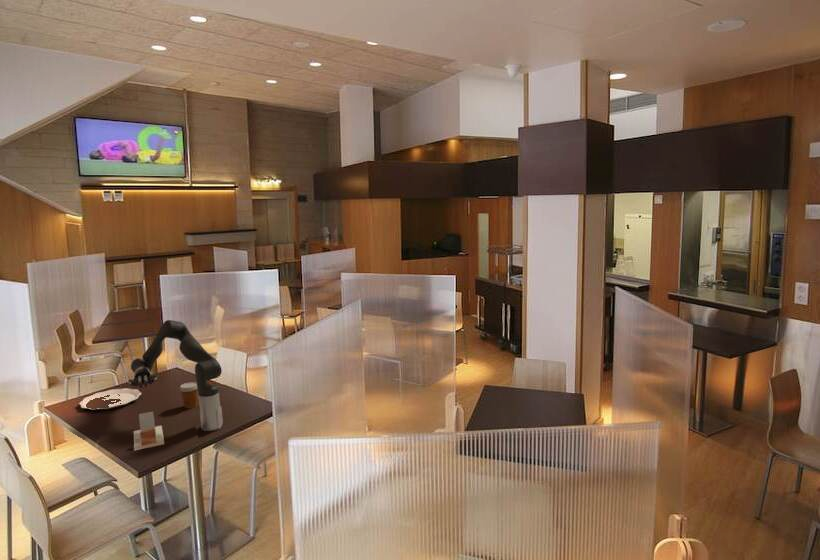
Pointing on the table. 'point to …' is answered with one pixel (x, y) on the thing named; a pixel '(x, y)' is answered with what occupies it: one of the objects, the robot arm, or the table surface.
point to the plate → (113, 397)
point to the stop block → (148, 436)
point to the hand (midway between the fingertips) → (143, 385)
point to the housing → (158, 442)
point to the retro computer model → (146, 421)
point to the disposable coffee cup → (189, 394)
